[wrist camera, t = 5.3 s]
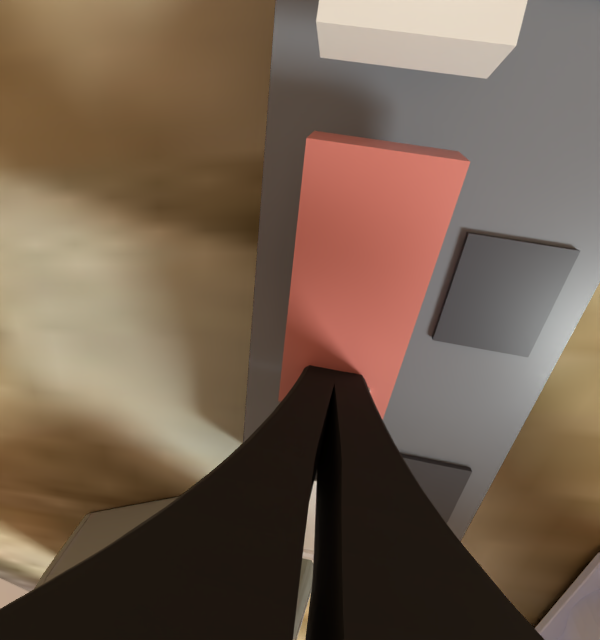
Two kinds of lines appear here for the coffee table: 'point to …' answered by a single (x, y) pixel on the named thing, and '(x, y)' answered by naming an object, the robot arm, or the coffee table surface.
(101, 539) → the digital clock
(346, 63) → the power strip
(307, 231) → the plate
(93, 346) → the coffee table surface
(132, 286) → the coffee table surface
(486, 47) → the rocker
